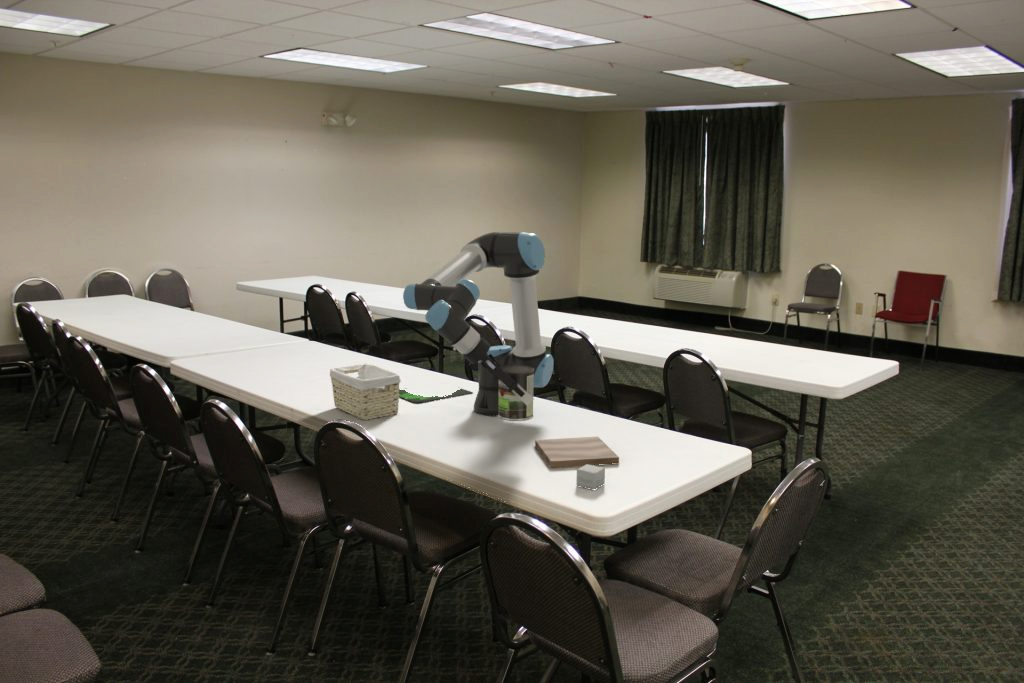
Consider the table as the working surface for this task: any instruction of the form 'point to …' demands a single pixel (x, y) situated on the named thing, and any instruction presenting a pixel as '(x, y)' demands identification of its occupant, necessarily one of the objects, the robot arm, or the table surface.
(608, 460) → the walnut board
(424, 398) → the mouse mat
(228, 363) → the table surface
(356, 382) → the storage basket
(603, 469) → the small box
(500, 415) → the coffee can
